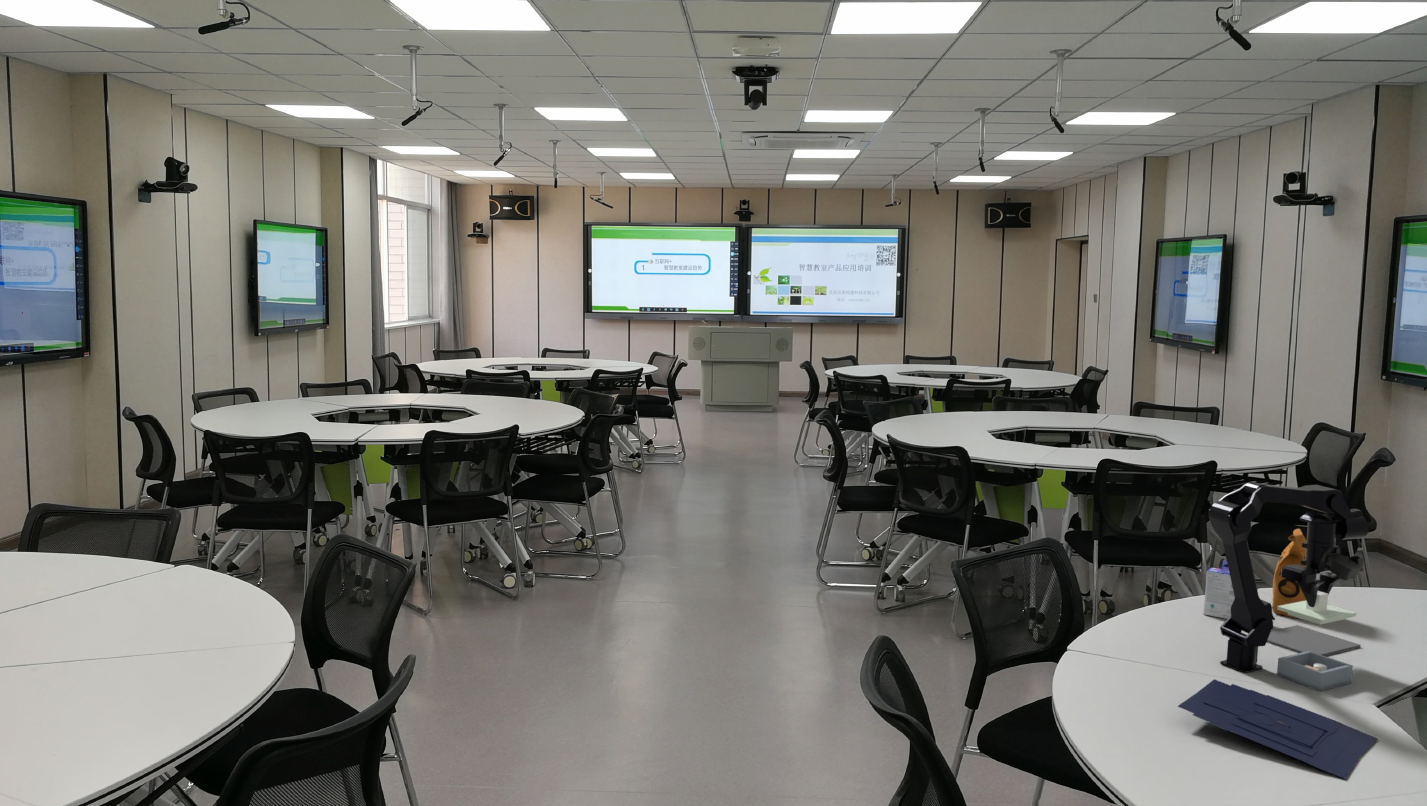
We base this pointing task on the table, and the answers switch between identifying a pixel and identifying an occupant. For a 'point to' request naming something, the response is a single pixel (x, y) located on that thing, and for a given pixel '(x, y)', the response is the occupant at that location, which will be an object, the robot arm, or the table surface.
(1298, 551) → the coffee package
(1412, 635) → the table surface
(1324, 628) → the table surface
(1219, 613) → the ink cartridge box
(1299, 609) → the lid
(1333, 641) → the rubber mat
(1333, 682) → the storage box
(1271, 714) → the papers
